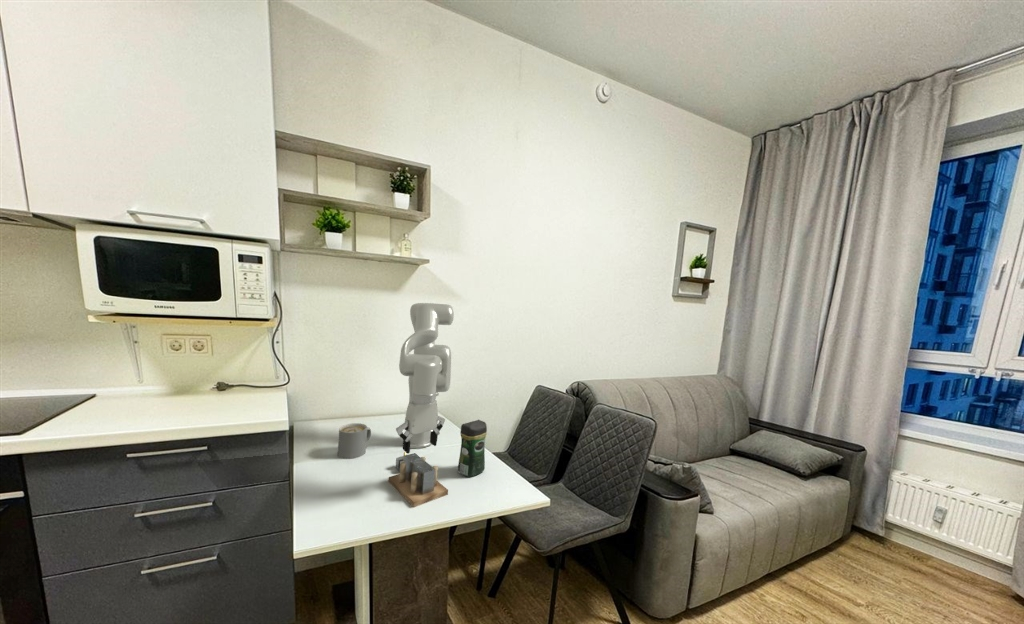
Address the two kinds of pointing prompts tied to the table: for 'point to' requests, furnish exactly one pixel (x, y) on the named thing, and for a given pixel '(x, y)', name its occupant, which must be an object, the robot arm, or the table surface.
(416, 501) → the rack
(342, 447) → the coffee mug
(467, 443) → the coffee jar
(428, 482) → the steel bar
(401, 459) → the slot block
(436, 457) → the table surface
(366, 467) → the table surface
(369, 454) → the table surface
